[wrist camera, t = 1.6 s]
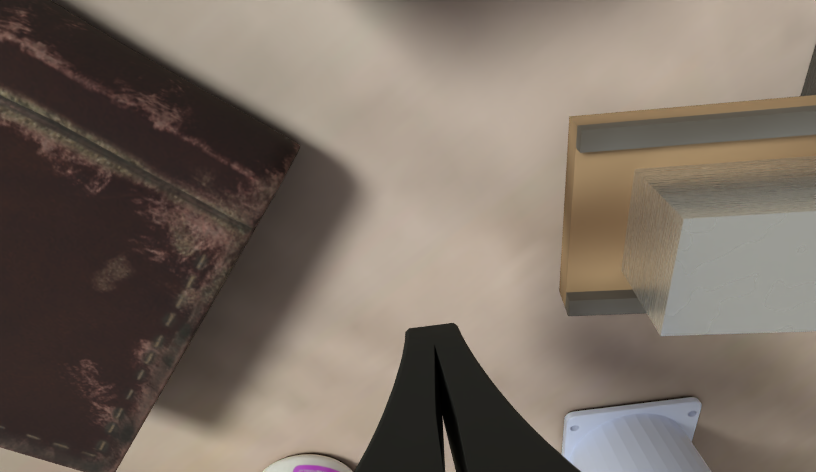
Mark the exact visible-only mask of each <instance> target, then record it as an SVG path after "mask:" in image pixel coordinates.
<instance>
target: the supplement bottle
mask: <svg viewBox="0 0 816 472" xmlns="http://www.w3.org/2000/svg"><path fill="white" fill-rule="evenodd" d="M263 472H353V471H352V470H351V469H350V468H349V467H347V466H346V465H345V464H343V463H342V462H340V461H338V460H336V459H333V458H330V457H327V456H322V455H314V454H303V455H296V456H291V457H287V458H284V459H281V460H279V461H276V462H274V463H273V464H271V465H270V466H268V467H267V468H266V469H265V470H264V471H263Z"/></svg>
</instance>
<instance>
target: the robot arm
mask: <svg viewBox="0 0 816 472" xmlns="http://www.w3.org/2000/svg"><path fill="white" fill-rule="evenodd" d="M701 407H702V404H701V402H700V401H699V400H698V399H697V398H695V397H688V398H680V399H672V400H664V401H656V402H647V403H639V404H631V405H623V406H615V407H607V408H599V409H590V410H582V411H574V412H570V413H568V414H567V415H566V416H565V418H564V431H563V444H562V455H561V454H560V453H559V452H558V451H557V450H555V449H554V448H553V447H552V446H551V445H550V444H549V443H548V442H547V441H545V440H544V439H543V438H542V437H541V436H540V435H539V434H538V433H537V432H536V431H535V430H534V429H533V428H532V427H531V426H530V425H529V424H528V423H527V422H526V421H525V420H524V419H523V417H522V416H521V415H520V414H519V413H518V412H517V411H516V410H515V409H514V408H513V406H512V405H511V404H510V403H509V402H508V401H507V399H506V398H505V397H504V396H503V395H502V393H501V392H500V391H499V390H498V389H497V387H496V386H495V385H494V383H493V382H492V381H491V380H490V378H489V377H488V375H487V374H486V373H485V371H484V370H483V368H482V367H481V366H480V364H479V363H478V361H477V360H476V358H475V357H474V355H473V354H472V352H471V351H470V349H469V347H468V346H467V344H466V342H465V340H464V339H463V337H462V335H461V333H460V331H459V328H458V326H457V325H456V324H454V323H449V324H441V325H433V326H425V327H417V328H409V329H408V330H407V331H406V332H405V344H404V350H403V355H402V359H401V363H400V367H399V370H398V373H397V376H396V380H395V383H394V386H393V389H392V392H391V395H390V397H389V400H388V402H387V405H386V408H385V410H384V413H383V415H382V418H381V420H380V422H379V424H378V427H377V429H376V431H375V433H374V435H373V437H372V439H371V441H370V443H369V445H368V447H367V449H366V451H365V453H364V455H363V457H362V459H361V460H360V462H359V464H358V466H357V468H356V470H355V471H354V472H445V459H444V438H443V420H444V424H445V428H446V432H447V436H448V441H449V445H450V449H451V453H452V457H453V461H454V465H455V469H456V472H712V471H711V470H710V468H709V467H708V465H707V464H706V462H705V461H704V459H703V458H702V456H701V455H700V454H699V452H698V451H697V449H696V448H695V446H694V445H693V443H692V439H693V435H694V432H695V428H696V425H697V421H698V418H699V414H700V411H701ZM442 416H443V418H442Z"/></svg>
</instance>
